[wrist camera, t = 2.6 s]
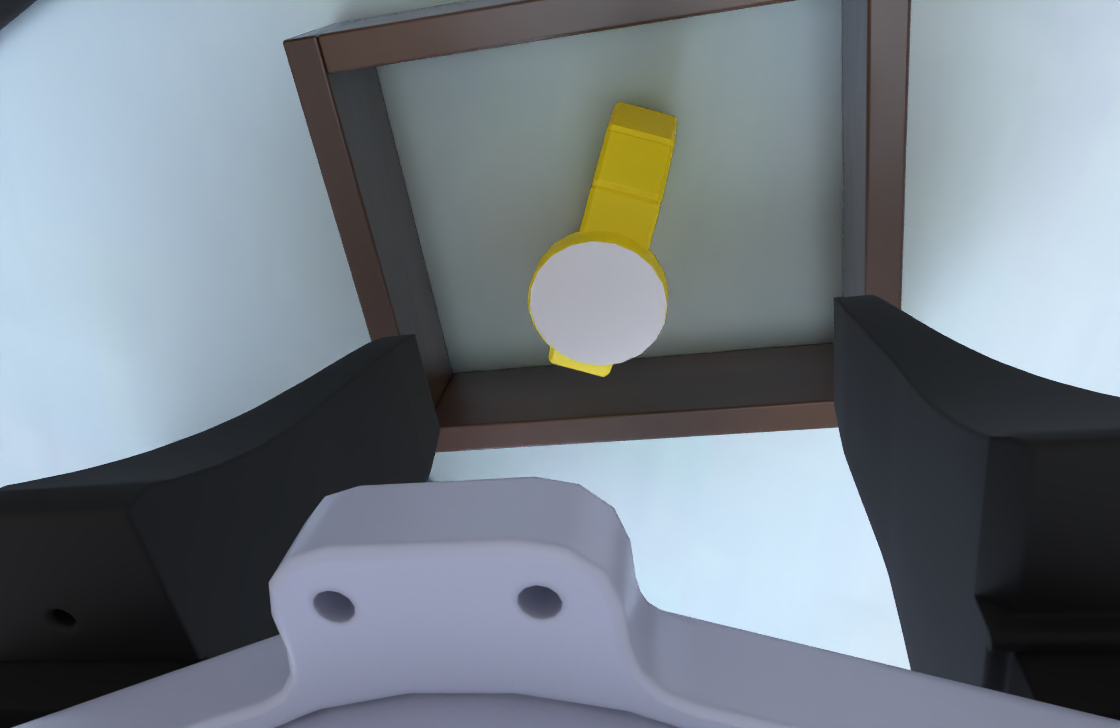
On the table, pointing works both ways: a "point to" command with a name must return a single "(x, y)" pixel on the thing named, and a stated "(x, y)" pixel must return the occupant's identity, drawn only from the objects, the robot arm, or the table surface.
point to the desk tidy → (635, 385)
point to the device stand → (12, 10)
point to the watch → (610, 253)
